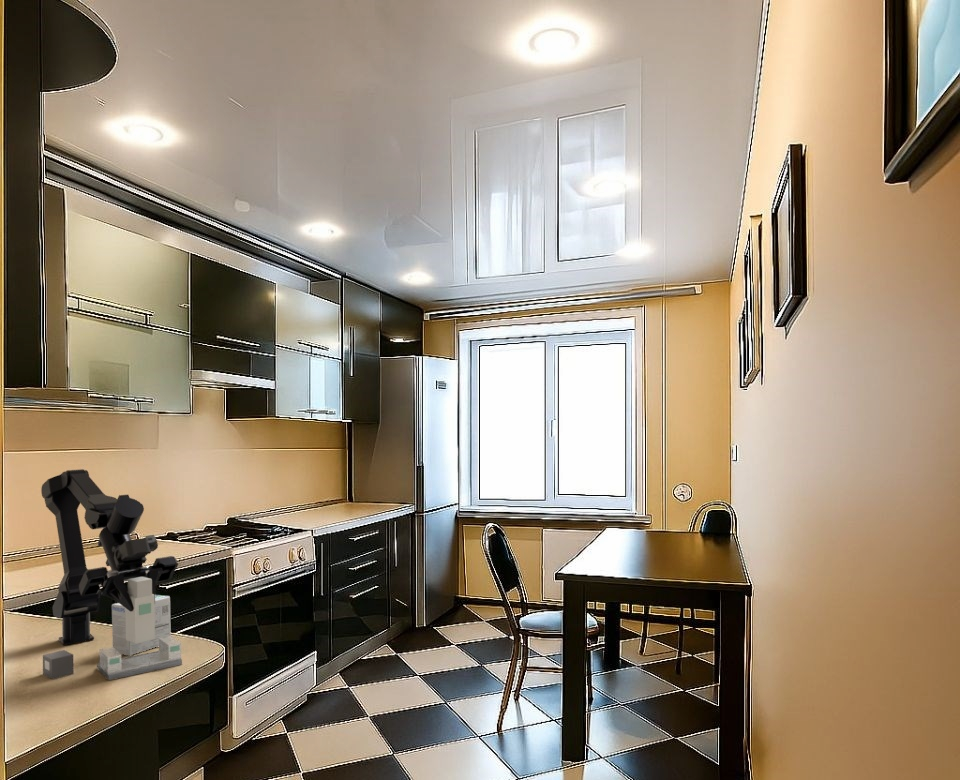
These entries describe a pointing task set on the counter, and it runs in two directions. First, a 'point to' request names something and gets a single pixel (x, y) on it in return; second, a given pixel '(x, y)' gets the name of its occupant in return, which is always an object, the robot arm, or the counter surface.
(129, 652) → the light bulb box
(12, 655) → the counter surface
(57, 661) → the block
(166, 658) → the mounting plate
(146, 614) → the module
